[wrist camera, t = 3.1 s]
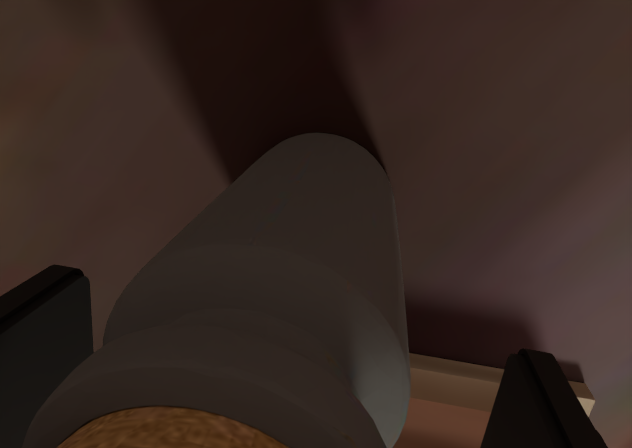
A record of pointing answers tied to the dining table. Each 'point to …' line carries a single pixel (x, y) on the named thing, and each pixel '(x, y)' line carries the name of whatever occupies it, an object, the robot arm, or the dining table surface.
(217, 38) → the dining table surface
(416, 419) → the pedestal
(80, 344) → the robot arm
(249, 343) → the bottle
